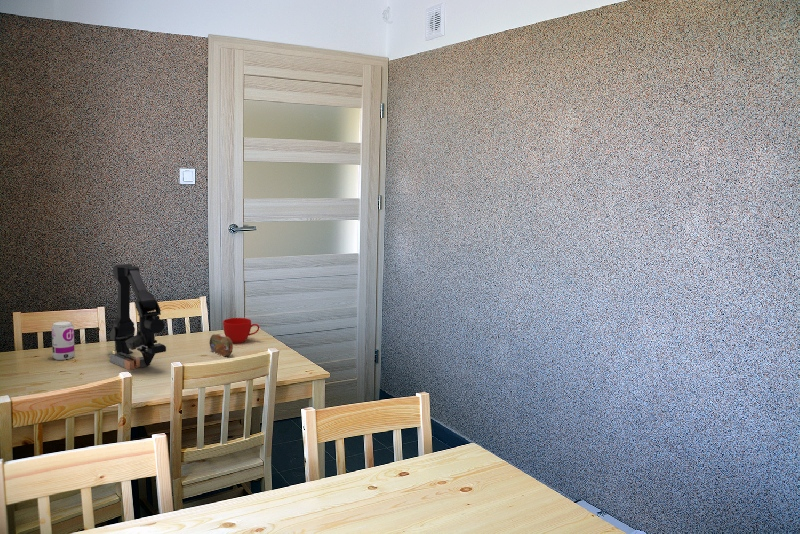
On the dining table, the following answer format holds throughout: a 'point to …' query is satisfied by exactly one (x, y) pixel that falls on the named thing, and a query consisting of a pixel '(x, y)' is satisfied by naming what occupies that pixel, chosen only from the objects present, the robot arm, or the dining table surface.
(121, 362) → the tongs fixed arm
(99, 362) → the dining table surface
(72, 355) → the supplement can
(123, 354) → the tongs jaw
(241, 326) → the ceramic cup
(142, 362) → the grey block
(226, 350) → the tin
